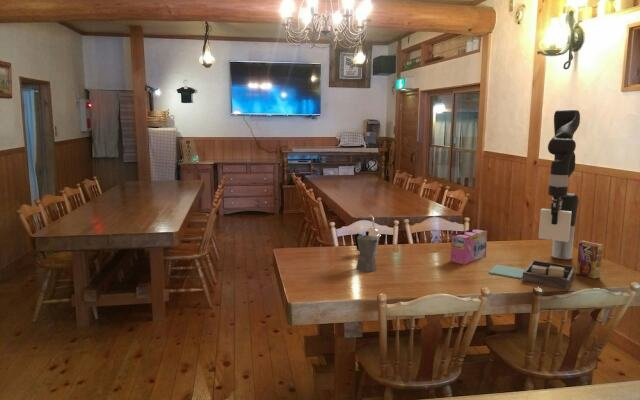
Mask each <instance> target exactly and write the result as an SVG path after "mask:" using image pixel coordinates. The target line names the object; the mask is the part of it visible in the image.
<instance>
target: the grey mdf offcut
mask: <svg viewBox="0 0 640 400" xmlns="http://www.w3.org/2000/svg"><path fill="white" fill-rule="evenodd" d="M531 273H535V274H541V275H546V274H547V267H542V266H535V265H533V266H532V269H531Z"/></svg>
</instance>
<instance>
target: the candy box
mask: <svg viewBox="0 0 640 400" xmlns="http://www.w3.org/2000/svg"><path fill="white" fill-rule="evenodd" d="M603 248H604V244H602V243H597V242H596V243H595V242H591V241H587V240H580V241H579V242H578V249H577V251H578V253H577V260H576V261H577V262H576V269H575V271H576V272H575V273H576V274H577V275H581V276H584V277H586V278H587V277H588V278H590V279H599V278H600V277H601V276H600V274H601V266H602V258H603V250H604V249H603Z"/></svg>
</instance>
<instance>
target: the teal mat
mask: <svg viewBox="0 0 640 400" xmlns="http://www.w3.org/2000/svg"><path fill="white" fill-rule="evenodd" d="M525 269H526V268H525ZM525 269H524V268H519V267H513V266H506V265H502V264H496V265H494V266H493V267H492V268H491V269H490V270H489V271H488V274H489V275H490V274H491V275H497V276H501V277H505V278H506V277H507V278H513V279H519V280H523V272H524V270H525Z"/></svg>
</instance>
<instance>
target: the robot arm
mask: <svg viewBox="0 0 640 400" xmlns="http://www.w3.org/2000/svg"><path fill="white" fill-rule="evenodd" d="M580 123H581V113H580V111H579V110H578V109H573V108H572V109H571V108H570V109H558V110H555V111H554V116H553V129H554V130H553V133H554V136H553V137H552V138H551V139H550V140H549V142H548V144H547V150H548V152H549V154H551V155H553V156H554V159H553V161H552V162H551V164H550V174H549V179H548V191H547V194H548V196H550V197H552V199H551V201H550V206H551V207H550V209H551V215H552V222H551V223H552V224H555V225H556V224H557V220H558V212H559V211H560V210H563V211H572V214H571V225H570V235H569V241H568V242H564V241H556V240H552V249H551V257H552V258H554V259H558V260H571V259H572V256H573V247H574V238H575V237H574V236H575V228H576V220H577V214H578V213H577V212H578V207H579V196H578V195H577V194H576V193H569V192H568V189H569V178H570V176H571V175H573V173H574V172H575V169H576V153H575V150H576V148H577V147H576V145H577V144H576V141H575V140H574V139H573V137H574V135H575V133H576V131H577V130H578V128H579V127H580ZM554 211H556V213H555V212H554Z"/></svg>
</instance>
